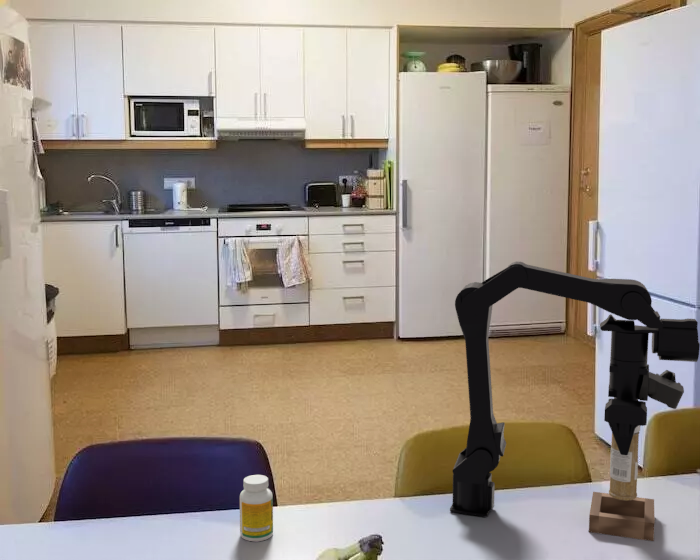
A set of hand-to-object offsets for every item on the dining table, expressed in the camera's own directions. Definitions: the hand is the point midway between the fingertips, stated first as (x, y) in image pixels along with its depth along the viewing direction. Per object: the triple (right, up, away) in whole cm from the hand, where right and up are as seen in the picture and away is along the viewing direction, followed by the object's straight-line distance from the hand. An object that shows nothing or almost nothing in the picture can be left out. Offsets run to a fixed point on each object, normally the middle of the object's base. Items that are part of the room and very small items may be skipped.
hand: (624, 450), depth 135 cm
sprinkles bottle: (0, -8, +1) cm, 8 cm away
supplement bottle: (-61, -14, -2) cm, 62 cm away
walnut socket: (0, -13, +2) cm, 13 cm away
